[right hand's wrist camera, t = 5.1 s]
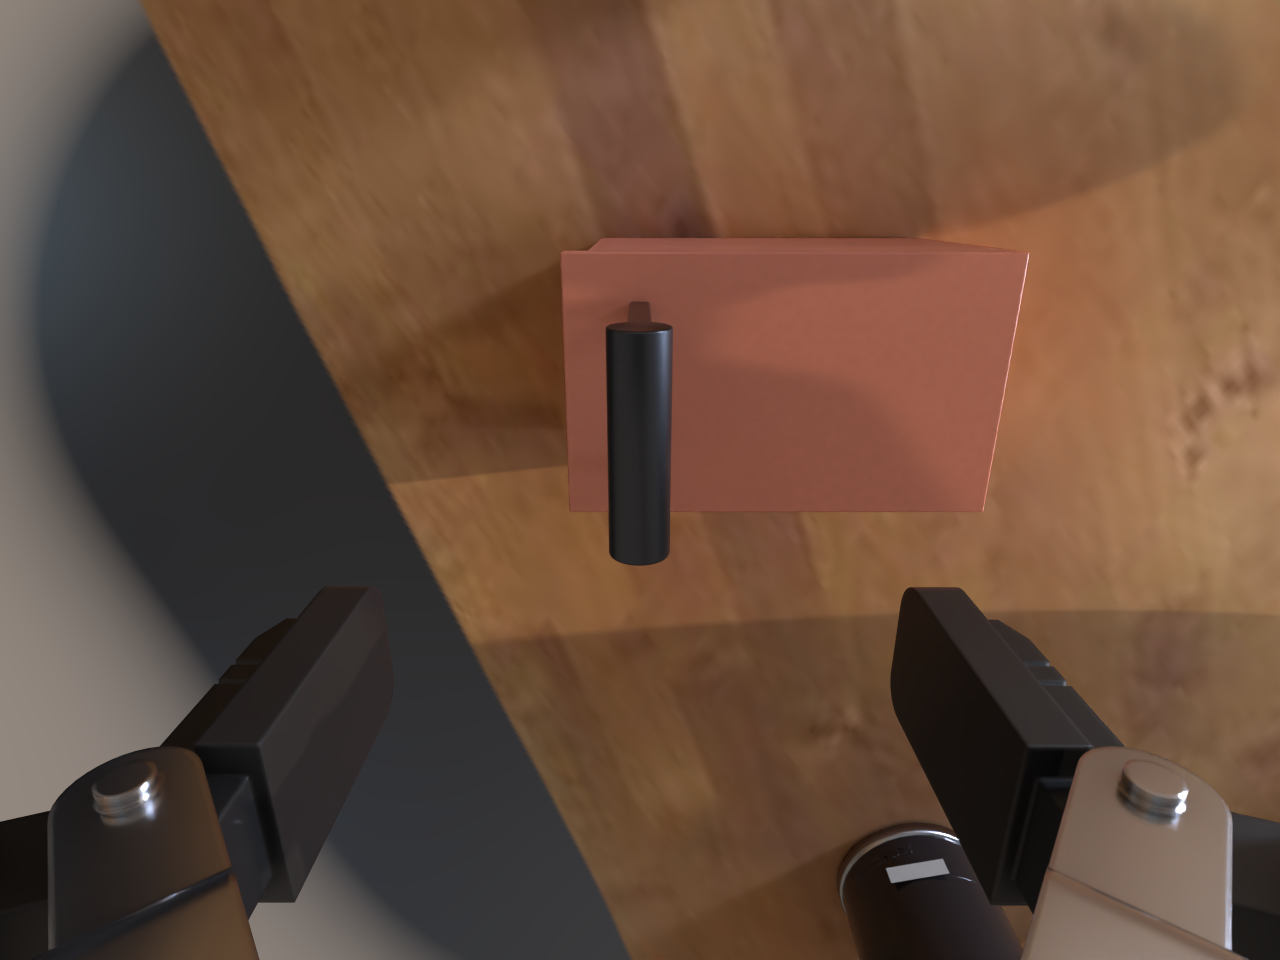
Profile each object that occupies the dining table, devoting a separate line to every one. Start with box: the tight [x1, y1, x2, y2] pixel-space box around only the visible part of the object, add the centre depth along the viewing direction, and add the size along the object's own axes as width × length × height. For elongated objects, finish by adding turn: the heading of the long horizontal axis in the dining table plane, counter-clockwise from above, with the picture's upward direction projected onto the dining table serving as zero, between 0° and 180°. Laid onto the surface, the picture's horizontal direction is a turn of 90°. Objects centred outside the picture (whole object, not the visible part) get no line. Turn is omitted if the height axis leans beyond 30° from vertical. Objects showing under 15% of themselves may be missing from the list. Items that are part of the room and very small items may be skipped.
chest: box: [588, 238, 1015, 251], centre depth 32 cm, size 15×10×10 cm, turn 90°
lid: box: [560, 251, 1029, 566], centre depth 23 cm, size 16×10×8 cm, turn 90°
